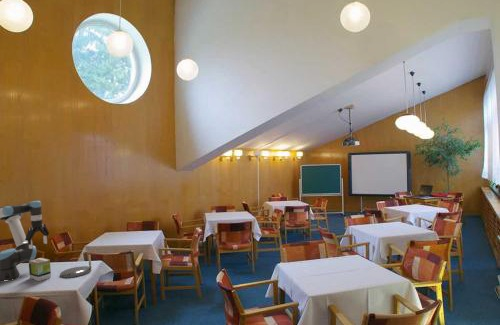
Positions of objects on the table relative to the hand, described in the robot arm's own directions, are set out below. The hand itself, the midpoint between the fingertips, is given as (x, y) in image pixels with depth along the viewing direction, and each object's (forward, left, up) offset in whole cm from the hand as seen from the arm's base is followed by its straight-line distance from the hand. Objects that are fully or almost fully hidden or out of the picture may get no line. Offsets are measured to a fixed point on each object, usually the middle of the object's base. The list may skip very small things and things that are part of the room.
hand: (38, 246), depth 265 cm
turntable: (+22, +14, -26) cm, 37 cm away
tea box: (0, 0, -27) cm, 27 cm away
